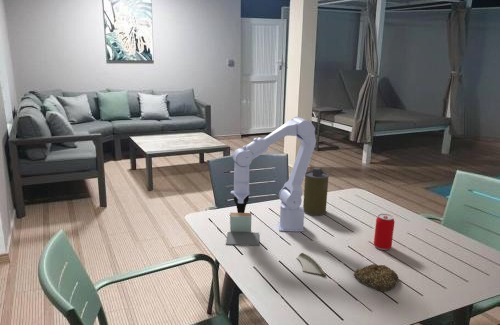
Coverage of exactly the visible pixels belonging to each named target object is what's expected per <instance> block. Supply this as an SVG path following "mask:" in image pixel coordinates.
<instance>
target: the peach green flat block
mask: <svg viewBox="0 0 500 325" xmlns="http://www.w3.org/2000/svg"><path fill="white" fill-rule="evenodd" d="M229 224H230V226H229V227H230V228H229V229H230V230H229V232H252V212H244V213H238V212H230V213H229Z"/></svg>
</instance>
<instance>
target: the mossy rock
mask: <svg viewBox="0 0 500 325" xmlns="http://www.w3.org/2000/svg"><path fill="white" fill-rule="evenodd" d="M353 276H355V277H354V278H355V279H356V280H358V281H359V282H360V283H362V284H363V283H364V285H365V286H367V287H369V288H372V289H374V290H377V291H378V290H379V292H387V291H391V289H393V288H395V287H396V285H397V283H398V282H399V276H398V274H397V272H396V271H395V270H393V269H392V268H390V267H389V266H387V265H385V264H379V265H378V264H375V263H374V264H369V265H367V266H364V267H361V268H357V269H356V270H355V271H354V272H353Z"/></svg>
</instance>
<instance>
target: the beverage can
mask: <svg viewBox="0 0 500 325" xmlns="http://www.w3.org/2000/svg"><path fill="white" fill-rule="evenodd" d="M374 228H375V229H374V238H373V246H374V247H376V248H377V249H379V250H382V251H387V250H390V249H391V248H392V245H393V238H394V228H395V219H394V216H393V215H391V214H387V213H378V215H377V217H376V220H375V227H374Z"/></svg>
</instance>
